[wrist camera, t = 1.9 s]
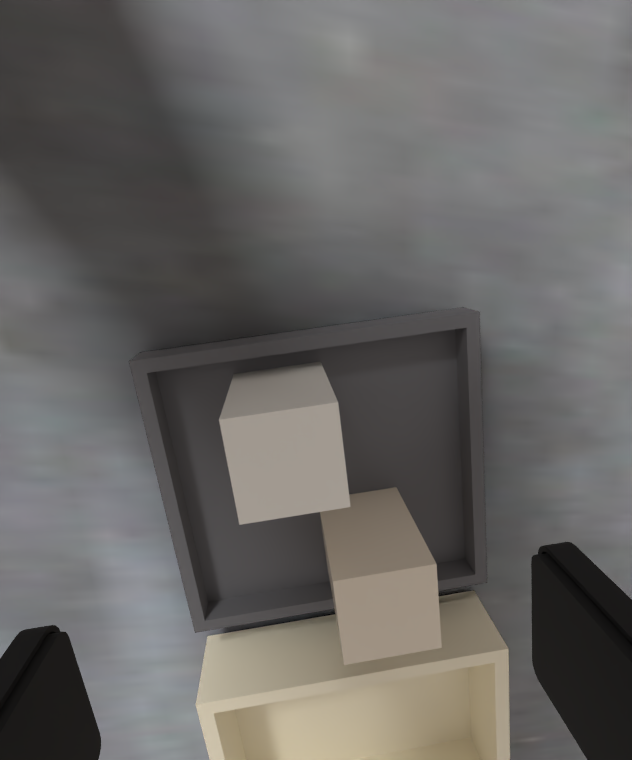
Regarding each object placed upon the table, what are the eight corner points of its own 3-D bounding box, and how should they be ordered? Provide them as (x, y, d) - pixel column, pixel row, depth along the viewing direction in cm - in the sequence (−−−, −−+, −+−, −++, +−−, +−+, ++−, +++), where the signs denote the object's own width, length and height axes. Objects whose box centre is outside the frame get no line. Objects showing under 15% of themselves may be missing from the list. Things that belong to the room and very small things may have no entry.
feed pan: (140, 352, 21) (128, 361, 19) (463, 307, 22) (479, 311, 20) (200, 606, 25) (194, 632, 23) (472, 560, 26) (487, 582, 24)
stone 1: (233, 374, 21) (218, 419, 15) (320, 361, 21) (338, 402, 16) (248, 454, 22) (239, 525, 16) (330, 441, 22) (350, 507, 17)
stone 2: (318, 499, 23) (332, 581, 17) (396, 487, 23) (436, 563, 18) (327, 566, 24) (344, 665, 18) (402, 554, 24) (441, 647, 19)
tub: (207, 636, 25) (195, 704, 22) (473, 590, 26) (508, 648, 22) (241, 780, 28) (236, 863, 25) (479, 735, 29) (510, 809, 25)
